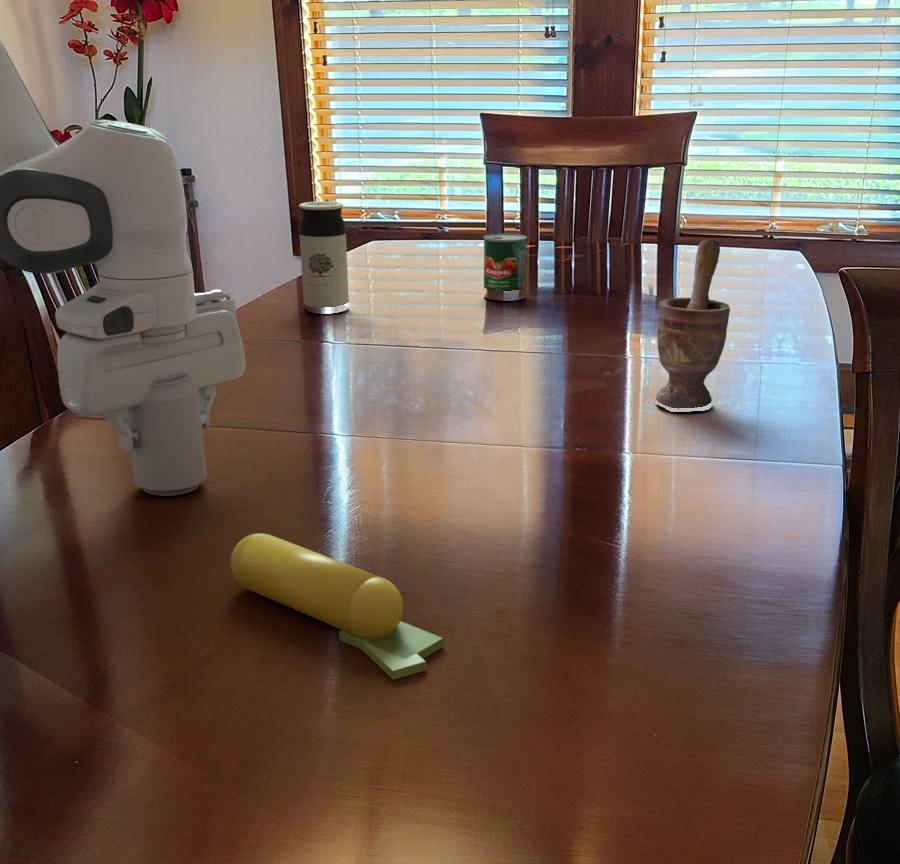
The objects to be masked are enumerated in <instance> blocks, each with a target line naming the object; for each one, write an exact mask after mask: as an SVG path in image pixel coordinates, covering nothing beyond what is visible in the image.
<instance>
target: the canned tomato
mask: <svg viewBox="0 0 900 864" xmlns="http://www.w3.org/2000/svg"><path fill="white" fill-rule="evenodd" d="M527 241H528V238H527V235H525V234H518V233H491V234H486V235H483V289H484V288H486V289H490V290H497V291H512V290H519V289H522V288H524V287H526V284H527V283H526V280H527V277H526V276H527V249H528V248H527V247H528V245H527Z"/></svg>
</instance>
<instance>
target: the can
mask: <svg viewBox="0 0 900 864" xmlns="http://www.w3.org/2000/svg"><path fill="white" fill-rule="evenodd" d="M189 378H190V375H189V374H188V375H186V376H185V377H184V378H182V379H180V380H176V381H171V382H165V383H151V384H150V386H151V387H152V391H151V392H150V394H149V395H148V397H147V398H146V399H145V400H144V403H143V404H140V405H136V406H132V407H128V408H127V410H128V418H126V419H125V422H126V424H127V425H128V427H129V428H130V429H132V430H136V431H139V432H140V442H141V447H140V448H137V449H133V450H131V451H129V453H130V454H129V455H130V460H131V461H130V462H131V469H132V477H133V482H134V484H135V485H136V486H137V487H139V488H140V489H142V490H143V492H145V493H147V494H150V495H153V496H163V497H166V496H169V497H171V496H179V495H183V494H188V493H191V492H193V491H195V490H196V489H198V488H199V487H200V485H201V484H202V483H203V482H204V481H205V480H206V478H207V474H208V473H207V464H206V454H205V453H206V452H205V444H204V434H203V433H204V432H203V429H202V423H201V413H200V404H199V394H198V388H197V387H196V386H195V385H194V384H193V383H192V382H190V381H189Z"/></svg>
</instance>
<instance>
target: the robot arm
mask: <svg viewBox="0 0 900 864" xmlns="http://www.w3.org/2000/svg"><path fill="white" fill-rule="evenodd" d="M187 230H188V212H187V203H186V195H185V188H184V182H183V177H182V171H181V168H180V163H179V159H178V155H177V152H176V149H175V148H174V146H173V145H172V143H171V141H169V140H168V138H167V137H166V136H165V135H163V134H162V133H161V132H159V131H157V130H156V129H154V128H152V127H148V126H145V125H141V124H138V123H137V124H136V123H131V122H125V121H120V120H110V119H95V120H92V121H89V122H88V123H87V124H86V125H85V126H84V127H83V128H81V130H80V131H79V132H77V133H76V134H74V135H73V136H72V137H70V138H69V139H67V140H65V141H64V142H62V143H61V144H60V142H59V141H57V139H56V138H55V136H54V135H53V133H52V132H51V131H50V129H49V128H48V125H47V124H46V122H45V120H44V119H43V117H42V115H41V113H40V111H39V109H38V108H37V105H36V103H35V101H34V100H33V98H32V97H31V95H30V93H29V91H28V88H27V87H26V85H25V83H24V81H23V80H22V78H21V76H20V74H19V72H18V71H17V69H16V67H15V65H14V63H13V61H12V59H11V57H10V56H9V53H8V51H7V50H6V48H5V46H4V44H3V42H2V40H1V39H0V258H1V259H2V260H3V261H4V262H5V263H7V264H8V265H10V266H12V267H14V268H16V269H18V270H19V271H22V272H26V273H31V274H41V275H50V274H57V273H60V272H61V273H62V272H63V271H66V270H70V269H74V268H79V267H83V266H88V265H90V264H94V265H95V266H96V269H97V275H98V282H99V283H97V284H95V285H93V286H92V287H91V288H89V289H88V290H86V291H84V292H82V293H81V294H80V295H77V296H76V297H75V298H73V299H70V300H69V301H67V302H65V303H64V304H62V305H60V306H59V307H58V308H57V309H56V311H55V313H54V314H55V315H54V317H55V323H56V326H57V328H58V329H59V330H62V331H64V332H66V333H65V334H63V335H62V337H61V338H60V340H59V342H58V345H57V350H56V363H57V364H56V365H57V376H58V377H57V378H58V384H59V385H58V386H59V392H60V397H61V401H62V403H63V405H64V406H65V407H66V408H67V409H68V410H69V411H71V413H74V414H77V415H78V416H82V417H85V418H94V417H97V416H101V415H103V417H104V419H105V420H106V421H107V423H108V424H109V425H110V427H112V429H113V430H114V431H115V432H116V434H117V435H116V436H117V441H118V446H119V448H120V449H121V450H123V451H126V452H130V451H131V450H133V449H137V448H140V447H141V442H140V432H139V431H136V430H132V429H130V428H129V427H128V425H127V424H126V418H128V410H127V408H128V407H132V406H136V405H140V404H143V403H144V400H145V399H146V398H147V397H148V395H149V394H150V392H151V391H152V387H151V386H150V384H151V383H165V382H171V381H176V380H180V379H182V378H184V377H185V376H186V375H188V374H189V375H190V378H189V381H190V382H192V383H193V384H194V385H195V386H196V387H197V388H198V394H199V404H200V413H201V423H202V430H205V429H209V428H210V427H211V417H210V412H211V410H212V408H213V404H214V403H215V400H216V397H217V385H219V384H223V383H227V382H230V381H235V380H239V379H241V377H243V375H244V372H245V369H246V366H247V365H246V356H245V349H244V344H243V339H242V335H241V332H240V331H241V330H240V326H239V323H238V321H237V318H238V317H237V306H236V303H235V300H234V299H233V298H232V297H231V296H230V295H229V294H228V293H226V292H224V291H223V290H221V289H213V290H210V291H207V292H196V293H195V282H194V271H193V264H192V262H191V259H190V256H189V253H188V250H187V245H186V241H187V240H186V236H187Z"/></svg>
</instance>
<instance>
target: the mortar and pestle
mask: <svg viewBox="0 0 900 864" xmlns="http://www.w3.org/2000/svg"><path fill="white" fill-rule="evenodd" d="M720 252H721V245H720V243H719V242H718V241H717V240H716V239H710V238H706V239H703V240H701V241H700V243H699V244H698V246H697V250H696V255H695V262H694V275H693V276H694V277H693V278H694V279H693V285H692V292H691V296H690V297H675V298H666V299H662V300H660V301H659V305H658V324H657V336H656V337H657V351H658V359H659V362H660V365H661V366H662V367H663V368H664V370H665V371H666V372H667V373H668V382H667V383H666V385H665V386H664V387H661V388H660V389H659V390H658V392H657V393H656V396H655V399H656V400H657V401H658V402H659V403H661V404H663V405H665V406H668V407H671V408H678V409H679V408H695V407H696V408H697V407H703V406H706V405H708V404H709V403H711V401H713V399H712V395H711V393H710V391H709V389H708V388H707V386H706V385H705V380H706V378H707V377H708V375H709V374H711V372H713V371H714V370H715V369H716V368H717V366H718V364H719V361H720V359H721V356H722V354H723V350H724V348H725V343H726V340H727V330H728V325H729V318H730V313H731V307H730V305H729V304H728V303H726V302H723V301H717V300H716V299H710V298H709V297H710V296H709V293H710V289H711V285H712V280H713V276H714V275H715V272H716V269H717V267H718V262H719V258H720Z"/></svg>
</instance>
